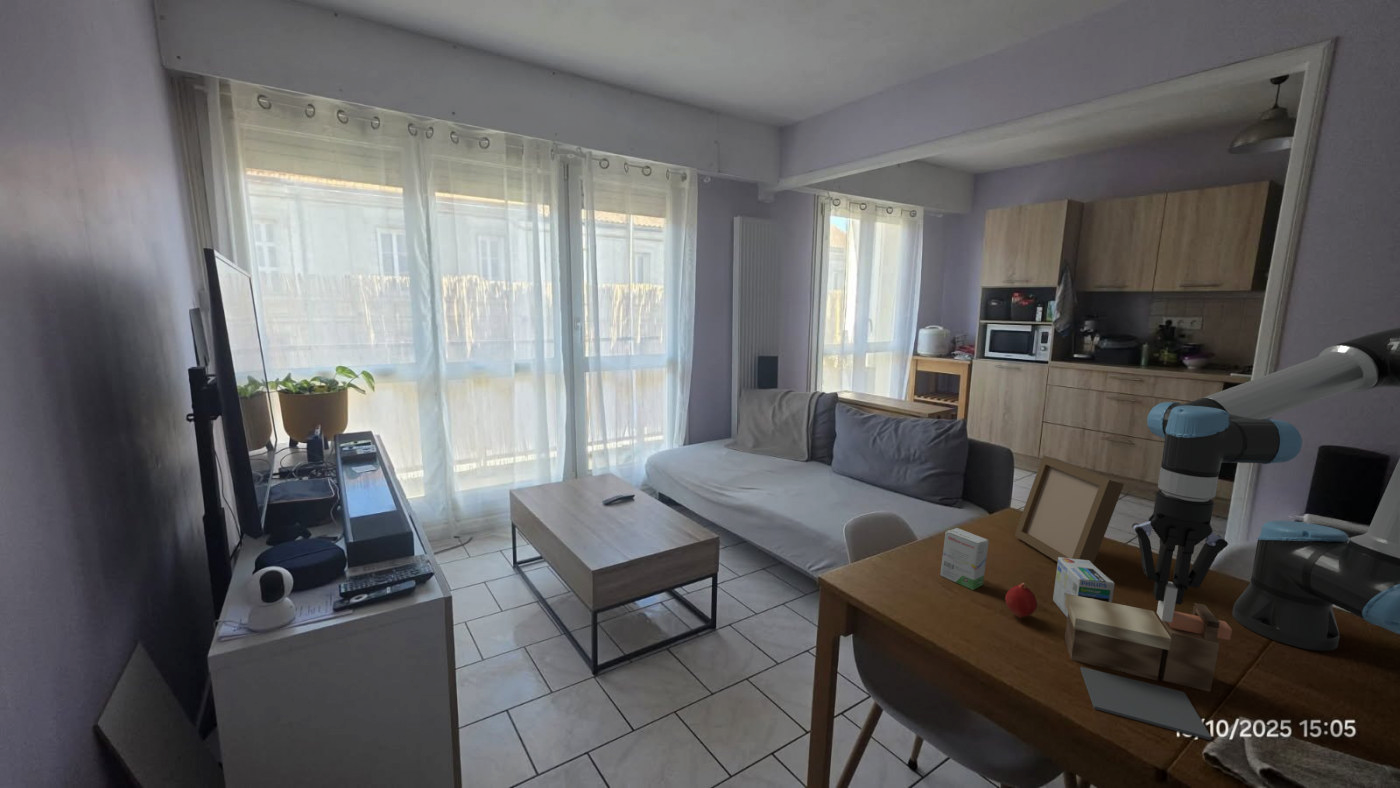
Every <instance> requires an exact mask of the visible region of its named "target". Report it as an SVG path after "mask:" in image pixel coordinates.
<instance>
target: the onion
mask: <svg viewBox="0 0 1400 788" xmlns="http://www.w3.org/2000/svg"><path fill="white" fill-rule="evenodd" d="M1026 585H1027V584H1026V583H1024V582H1021V584H1020V583H1019V584H1017V585H1014V586H1012V587H1011V588H1010V589H1009V590H1007V592H1006V593H1005V598H1004V599H1005V600H1004V601H1005V604H1006V606H1007V608H1008V609H1009V610H1010V611H1011V612H1012V613H1013V614H1014V615H1015V616H1016V617H1017V618H1018V619H1022V618H1025V617H1027V616H1030V615H1032V614H1033V613H1034V612H1035V611H1036V610H1037V607H1038V601H1037V599H1036V595H1035V594H1034V593H1033V591H1031V589H1030V588H1028V587H1027V586H1026Z"/></svg>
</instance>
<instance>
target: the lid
mask: <svg viewBox="0 0 1400 788" xmlns="http://www.w3.org/2000/svg"><path fill="white" fill-rule="evenodd" d="M1065 606H1066V608H1067V611H1068V614H1069V616H1070V619H1071V622H1072V624H1073V627H1074V629H1077V630H1081V631H1086V632H1090V633H1095V634H1099V635H1103V636H1108V637H1112V638H1117V639H1121V640H1126V641H1130V642H1135V643H1139V644H1144V645H1148V646H1153V647H1157V648H1162V649H1166V650H1170V645H1171V637H1170V636H1169V634H1168V633H1167V631H1166V630H1165V628H1164V627H1163V625H1162V624H1161V622H1160V620H1159V619H1160V618H1158V617H1159V616H1158V615H1156V614H1157V613H1155V611H1154V610H1149V609H1145V608H1140V607H1134V606H1130V605H1124V604H1120V603H1116V602H1115V603H1114V602H1112V603H1111V602H1106V601H1101V600H1096V599H1091V598H1086V597H1081V596H1076V595H1071V594H1066V597H1065Z"/></svg>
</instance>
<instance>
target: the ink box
mask: <svg viewBox="0 0 1400 788" xmlns="http://www.w3.org/2000/svg"><path fill="white" fill-rule="evenodd" d="M944 535H945V536H944V543H943V549H942V550H943V551H942V559H941V567H940V576H941V577H943V578H945V579H946V580H947V579H948V580H949V581H951V582H954V583H956V584H958V585H960V586H963V587H965V588H967V589H969V590H971V591H974V590H976V589H978V588H980V587H982V586H983V585H984V581H985V580H984V579H985V570H986V564H987V556H988V549H989V544H990V543H989V542H990V540H989V539H987V538H984V537H982V536H979V535H976V534H973V533H972V532H969V531H966V530H963V529H961V528H958V527H955V528H952V529H949V530H945V534H944Z"/></svg>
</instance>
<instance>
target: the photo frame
mask: <svg viewBox="0 0 1400 788" xmlns="http://www.w3.org/2000/svg"><path fill="white" fill-rule="evenodd" d="M1124 485H1125V483H1123V482H1121V481H1118V480H1115V479H1112V478H1110V477H1107V476H1105V475H1102V474H1099V473H1097V472H1094V471H1090V470H1088V469H1086V468H1082V467H1080V466H1077V465H1074V464H1072V463H1069V462H1067V461H1063V460H1061V459H1058V458H1054V457H1051V456H1048V455H1042V458H1041V459H1040V463H1039V466H1038V469H1037V472H1036V474H1035V477H1034V480H1033V483H1032V486H1031V489H1030V491H1029V493H1028V497H1027V499H1026V502H1025V505H1024V508H1023V510H1022V514H1021V516H1020V519H1019V520H1018V521H1019V522H1018V525H1017V527H1016V530H1015V533H1014V537H1016V538H1018V539H1020V541H1023V542H1024V543H1026V544H1027V545H1029V546H1030V547H1032V548H1034V549H1036V550H1037V551H1039V552H1040V553H1042V554H1043V555H1045V556H1047V557H1049V558H1050V559H1052V561H1055V562H1056V563H1058V557H1063V558H1070V559H1080V560H1089V561H1090V562H1091V563H1092V564H1093V565H1095V564H1094V563H1095V561H1096V559H1097V556H1098V553H1099V551H1100V548H1101V545H1102V542H1103V540H1104V538H1105V534H1106V533H1107V530H1108V528H1109V524H1110V522H1111V519H1112V517H1113V513H1114V511H1115V510H1116V505H1117V503H1118V502H1119V498H1120V495H1121V493H1122V491H1123V488H1124Z"/></svg>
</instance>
